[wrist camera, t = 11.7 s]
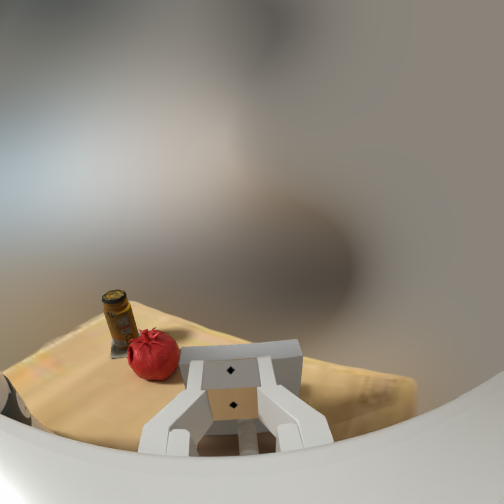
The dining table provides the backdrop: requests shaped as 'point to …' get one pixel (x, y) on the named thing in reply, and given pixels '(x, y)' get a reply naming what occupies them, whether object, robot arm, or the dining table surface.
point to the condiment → (119, 322)
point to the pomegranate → (153, 355)
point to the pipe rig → (238, 442)
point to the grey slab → (281, 352)
